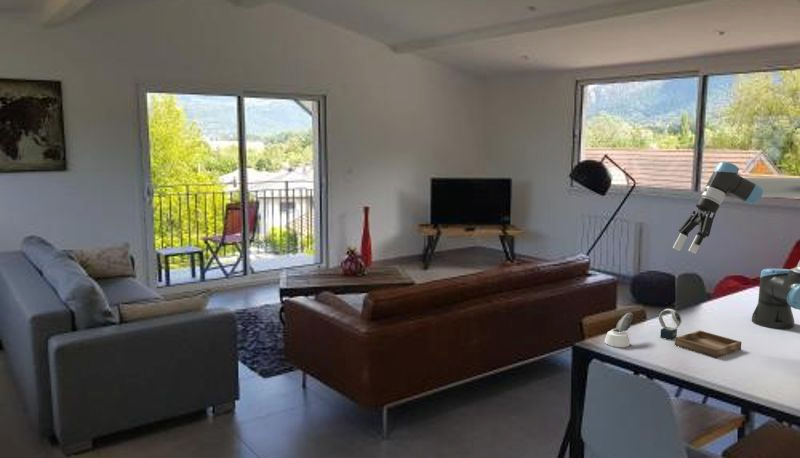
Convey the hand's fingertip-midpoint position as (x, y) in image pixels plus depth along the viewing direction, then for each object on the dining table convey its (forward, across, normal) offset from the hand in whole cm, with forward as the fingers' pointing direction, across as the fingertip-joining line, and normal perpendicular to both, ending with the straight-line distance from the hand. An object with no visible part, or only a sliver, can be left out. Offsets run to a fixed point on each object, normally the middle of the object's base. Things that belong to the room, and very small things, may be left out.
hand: (683, 251), depth 236 cm
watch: (+32, -3, +12) cm, 34 cm away
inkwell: (+41, +1, -5) cm, 41 cm away
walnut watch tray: (+29, +8, +21) cm, 36 cm away
